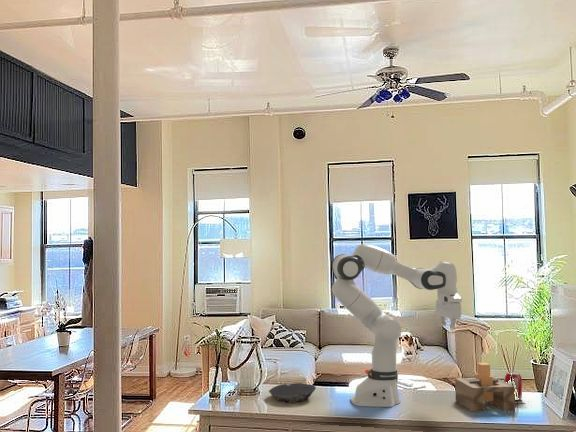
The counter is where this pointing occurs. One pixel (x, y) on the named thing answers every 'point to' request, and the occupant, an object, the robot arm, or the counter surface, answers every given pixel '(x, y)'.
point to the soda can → (517, 381)
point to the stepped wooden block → (485, 379)
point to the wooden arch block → (474, 394)
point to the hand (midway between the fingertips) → (447, 327)
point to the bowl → (292, 392)
